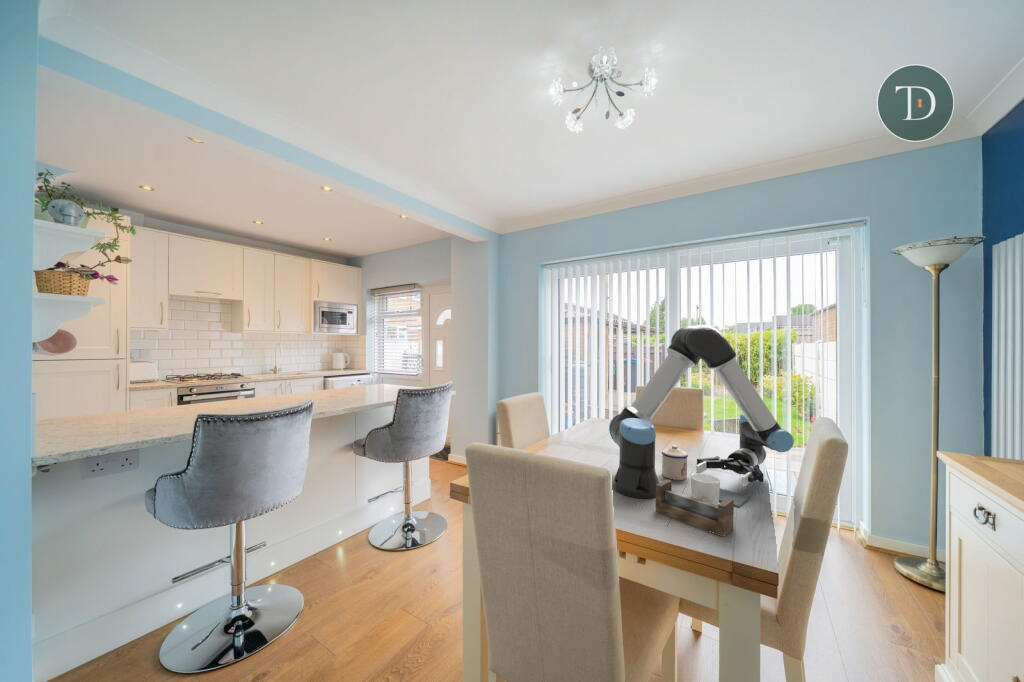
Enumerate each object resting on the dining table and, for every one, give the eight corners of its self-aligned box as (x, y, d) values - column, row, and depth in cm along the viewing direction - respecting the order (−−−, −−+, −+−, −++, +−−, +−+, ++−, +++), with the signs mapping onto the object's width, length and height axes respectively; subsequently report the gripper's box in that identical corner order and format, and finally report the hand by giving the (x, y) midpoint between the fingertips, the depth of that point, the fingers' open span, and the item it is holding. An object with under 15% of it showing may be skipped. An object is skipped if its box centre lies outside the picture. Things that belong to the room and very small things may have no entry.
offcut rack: (655, 511, 113) (655, 484, 113) (666, 504, 118) (667, 479, 118) (723, 536, 99) (724, 506, 99) (733, 528, 103) (733, 499, 103)
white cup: (707, 519, 109) (707, 484, 108) (684, 507, 116) (685, 475, 116) (725, 514, 112) (726, 480, 112) (702, 503, 119) (703, 472, 119)
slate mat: (699, 495, 125) (699, 493, 125) (711, 487, 132) (711, 485, 132) (739, 507, 116) (739, 505, 116) (749, 498, 123) (749, 497, 123)
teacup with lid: (686, 482, 136) (687, 450, 136) (660, 477, 140) (660, 447, 140) (688, 472, 147) (688, 442, 147) (663, 468, 151) (664, 439, 151)
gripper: (784, 481, 125) (764, 499, 111) (705, 462, 143) (680, 476, 129) (784, 459, 125) (764, 474, 111) (705, 443, 143) (680, 454, 129)
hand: (719, 475), depth 120 cm, fingers open, 13 cm apart
